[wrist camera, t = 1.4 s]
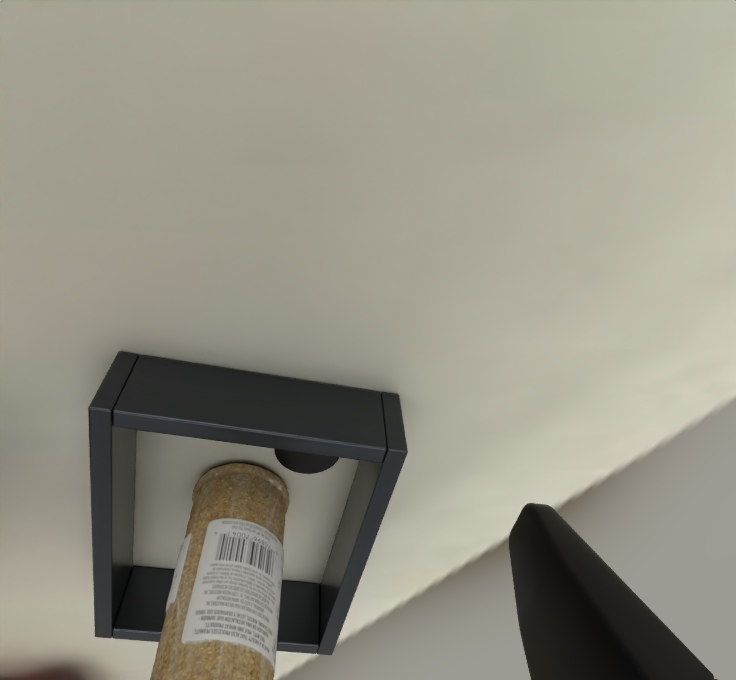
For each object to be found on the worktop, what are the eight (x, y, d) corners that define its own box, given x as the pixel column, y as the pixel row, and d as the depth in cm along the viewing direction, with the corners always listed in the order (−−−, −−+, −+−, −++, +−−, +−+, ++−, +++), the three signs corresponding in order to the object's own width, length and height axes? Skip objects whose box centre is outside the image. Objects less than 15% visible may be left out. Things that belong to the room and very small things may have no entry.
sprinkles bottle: (175, 493, 28) (68, 857, 17) (238, 443, 26) (167, 808, 15) (248, 536, 30) (197, 888, 19) (311, 492, 28) (297, 847, 17)
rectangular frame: (116, 573, 31) (94, 637, 28) (118, 350, 23) (87, 407, 20) (332, 593, 33) (331, 655, 30) (399, 394, 25) (408, 451, 22)
